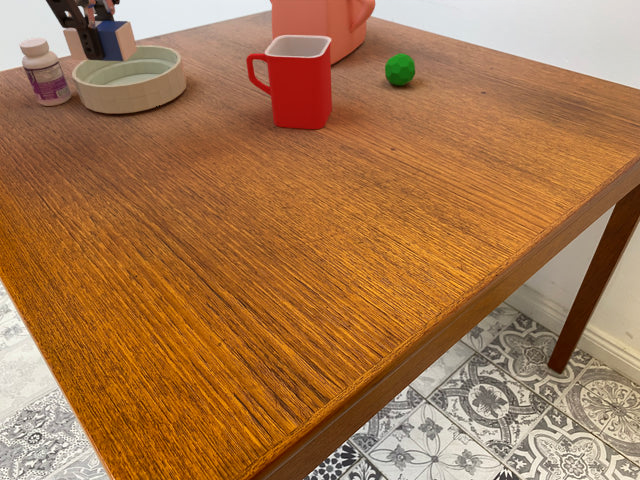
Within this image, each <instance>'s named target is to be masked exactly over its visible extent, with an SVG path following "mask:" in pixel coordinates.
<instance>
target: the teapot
mask: <svg viewBox="0 0 640 480" xmlns="http://www.w3.org/2000/svg"><path fill="white" fill-rule="evenodd" d="M269 2H270V4H271V36H272V41H273V40H274V39H275V38H277V37H278V36H282V35H307V36H326V37H329V38H331V45H330V61H331V65H334V64H336V63H337V62H339V61H341V60H342V59H344V58H345V57H346V56H348V55H350V54H351V53H352V52H354V51H355V50H356V49H357V48H358V47H360V46H361V44H363V43H364V42H365V39H366V34H367V20H369V18H370V17H371V16H372V15H373V13H374V11H375V8H376V0H269Z"/></svg>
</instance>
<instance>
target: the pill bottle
mask: <svg viewBox="0 0 640 480" xmlns="http://www.w3.org/2000/svg"><path fill="white" fill-rule="evenodd" d="M18 46H19V48H20V51H21V53H22V54H23V55H24V56H23V57H22V59H21V64H22V67H23V69H24V72H25V74H26V76H27V79H28V81H29V84H30V86H31V88H32V91H33V93H34V95H35V98H36V100H37V103H39V104H40V105H41V106H45V107H53V106H58V105H62V104H65V103H67V102H68V101H69V100H70V99H71V98H72V91H71V89H70V87H69V83H68V81H67V79H66V76H65V73H64V69H63V68H62V65H61V62H60V60H59V57H58V55H57V54H56V53H55V52H54V51H52V50H50V45H49V42H48V41H47V39H46V38H45V37H44V38H43V37H33V38H29V39H25V40H23V41H21V42H20V43H19V45H18Z"/></svg>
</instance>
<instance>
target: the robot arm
mask: <svg viewBox="0 0 640 480" xmlns="http://www.w3.org/2000/svg"><path fill="white" fill-rule="evenodd" d="M45 2H46V3H47V5H48V6H49V8H50V10H51V11H52V13H53V15H54V16H55V18H56V20H57V21H58V23H59V25H60V26H61V27H62V28H63V29H66V28H74V29H76V30H77V32H78V35H79V38H80V41H81V44H82V47H83V50H84V53H85V55H86V57H87V59H89V60H102V59H104V58H105V52H104V49H103V46H102V43H101V39H100V36H99V33H98V28H97V27H95V26H96V23H95V21H115V18H114V15H115V13H116V7H115V6H117V5H120V4H121V3H120V2H121V0H45ZM80 7H81V8H82V10H83V12H82V10H81V9H80ZM66 12H67V13H66ZM67 14H68V15H67Z"/></svg>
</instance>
